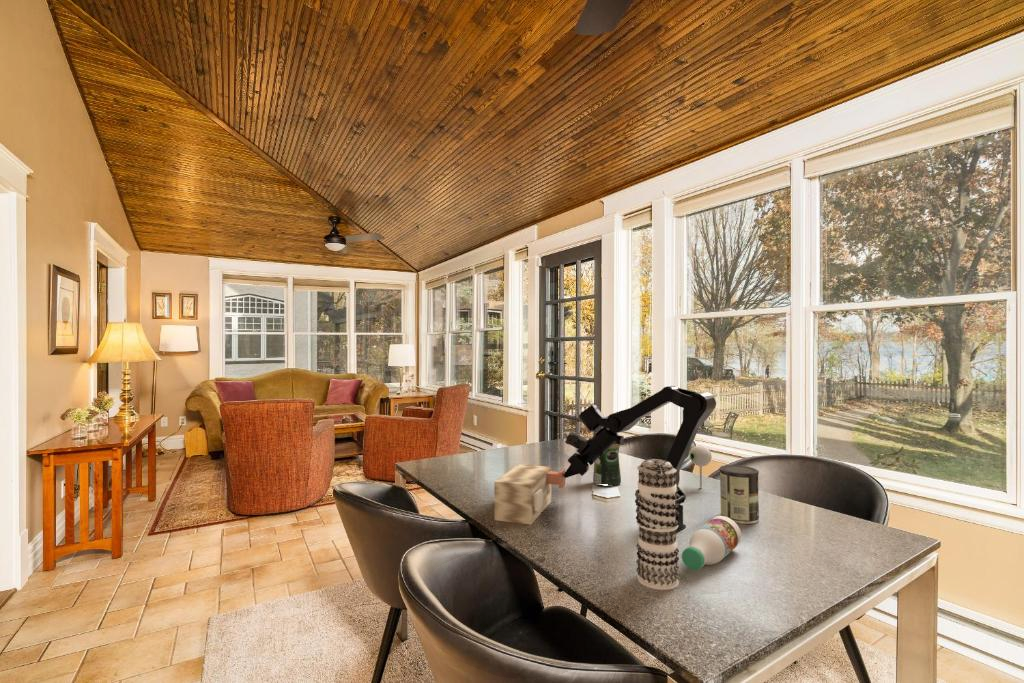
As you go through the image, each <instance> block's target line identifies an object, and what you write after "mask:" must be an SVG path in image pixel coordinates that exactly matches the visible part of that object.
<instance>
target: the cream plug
mask: <svg viewBox="0 0 1024 683" xmlns="http://www.w3.org/2000/svg"><path fill="white" fill-rule="evenodd" d="M542 506H543V489H539V490H538V491H537V492H535V493H534V494H533V507H535V511H539V510H540V509H541V507H542Z"/></svg>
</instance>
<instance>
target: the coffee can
mask: <svg viewBox="0 0 1024 683" xmlns="http://www.w3.org/2000/svg"><path fill="white" fill-rule="evenodd" d="M718 470H719V490H720V494H719V495H720V496H719V497H720V515H719V516H725V517H728V518H730V519H732V520H733V521H734V522H735V523H736V524H741V525H742V524H743V525H744V524H745V525H752V524H758V523H759V522H760V506H759V505H760V504H759V503H760V501H759V499H760V498H759V472H760V471H759V470H758V469H756V468H755V467H751V466H746V465H740V464H739V465H738V464H737V465H734V464H729V465H728V464H727V465H721V466H720V467H719V469H718Z"/></svg>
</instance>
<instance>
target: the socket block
mask: <svg viewBox="0 0 1024 683" xmlns="http://www.w3.org/2000/svg"><path fill="white" fill-rule="evenodd" d="M548 471H552V466H544V465H533V464H523V463H521V464H520V463H519V464H517V465H515V466H514V467H513V468H511V469H510V470H509V471H507V472H506V473H504V474H503V475H502V476H500V477H499V478H497V479H496V480H494V482H493V483H494V484H493V486H494V490H493V491H494V493H493V494H494V496H493V498H494V499H493V500H494V504H493V505H494V506H493V507H494V521H498V522H499V521H500V522H506V523H515V524H523V525H531V526H532V524H533V523H534V522H535V521H536V519H538V517H539V516H541V514H542V513H543V512H544V511H545V509H546V508H547V507H548V505H549V504H550V503H551V502H552V484H547V472H548ZM539 489H543V506H542V507H541V509H540V510H539V511H535V507H533V494H534V493H535V492H537V491H538V490H539ZM541 512H542V513H541Z"/></svg>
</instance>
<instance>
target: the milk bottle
mask: <svg viewBox="0 0 1024 683" xmlns="http://www.w3.org/2000/svg"><path fill="white" fill-rule="evenodd" d="M741 541H742V531H741V528H740V527H739V524H738V523H735V522H734V521H733V520H732V519H730V518H728V517H725V516H720V515H717V516H715V517H712V518H711V519H710V520H708V521H707V522H706V523H705V524H703V525H702V526H701V527H699V528H698V529H697V530H695V532H694V533H693V534H692V536H691V537H690V539H689V543H688V544H689V545H688V546H687V547H686V548H685V549H684V550H683V551H682V553H681V559H682V560H681V561H682V562H683V564H684V565H685V567H686V568H688V569H689V570H692V571H699V570H701V569H702V568H703V567H704V566H705V565H706V566H709V565H710V566H712V565H715V564H718V563H719V562H721V561H722V560H723V559H725V558H726V556H728V555H729V554H730V553H731V552H732V551H733V550H734V549H735V548H736V547H738V545H740V542H741Z"/></svg>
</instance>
